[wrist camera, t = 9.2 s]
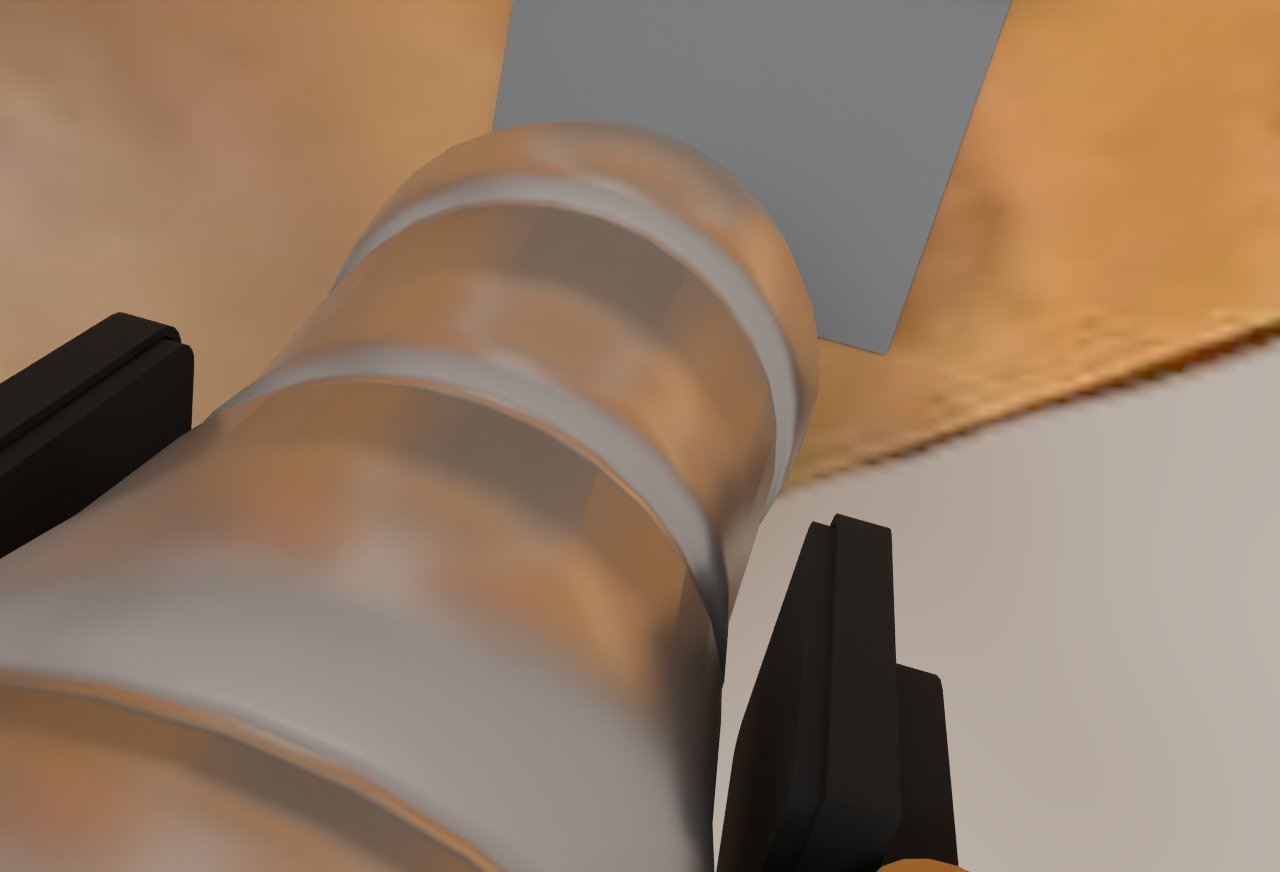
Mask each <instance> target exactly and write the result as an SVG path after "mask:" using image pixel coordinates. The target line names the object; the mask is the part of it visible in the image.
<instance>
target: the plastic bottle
mask: <svg viewBox="0 0 1280 872" xmlns="http://www.w3.org/2000/svg"><path fill="white" fill-rule="evenodd" d="M819 356H820V350H819V343H818V337H817V331H816V324H815V318H814V312H813V307H812V304H811V301H810V299H809V296H808V294H807V291H806V289H805V286H804V283H803V281H802V278H801V276H800V273H799V271H798V268H797V266H796V263H795V261H794V258H793V256H792V253H791V251H790V249H789V246H788V244H787V242H786V240H785V238H784V236H783V235H782V233H781V232H780V230H779V229H778V227H777V226H776V224H775V223H774V221H773V220H772V218H771V216H770V215H769V213H768V212H767V210H766V209H765V207H764V206H763V204H762V203H761V202H760V201H759V200H758V199H757V198H756V197H755V196H754V195H753V194H752V193H751V192H750V191H749V190H748V189H747V188H746V187H745V186H744V185H743V184H742V183H741V182H740V181H739V180H738V179H737V178H736V177H735V176H734V175H733V174H732V173H731V172H730V171H728V170H727V169H725V168H724V167H722V166H721V165H720V164H718V163H717V162H715V161H714V160H712V159H711V158H709V157H708V156H707V155H705V154H704V153H702V152H701V151H699V150H698V149H696V148H695V147H692V146H690V145H688V144H686V143H683V142H681V141H679V140H677V139H674V138H672V137H670V136H668V135H665V134H663V133H661V132H659V131H656V130H653V129H649V128H645V127H640V126H636V125H632V124H627V123H623V122H619V121H614V120H603V119H574V118H566V119H560V120H554V121H548V122H542V123H536V124H530V125H524V126H518V127H513V128H507V129H501V130H495V131H492V132H490V133H487V134H485V135H482V136H480V137H477V138H474V139H472V140H469V141H467V142H464V143H462V144H459V145H456V146H454V147H451V148H450V149H448V150H447V151H445V152H444V153H442V154H441V155H439V156H438V157H436V158H435V159H433V160H432V161H430V162H429V163H427V164H426V165H424V166H423V167H421V168H420V169H418V170H417V171H415V172H414V173H413V174H412V175H411V176H410V177H409V178H408V179H407V180H406V181H405V182H404V183H403V184H402V185H401V186H400V188H399V189H398V190H397V191H396V192H395V193H394V194H393V195H392V196H391V197H390V198H389V199H388V200H387V201H386V202H385V203H384V205H383V206H382V207H381V209H380V210H379V211H378V213H377V214H376V216H375V217H374V218H373V220H372V221H371V222H370V224H369V225H368V226H367V228H366V229H365V231H364V232H363V233H362V235H361V236H360V237H359V239H358V240H357V242H356V244H355V245H354V247H353V249H352V250H351V252H350V254H349V256H348V257H347V259H346V261H345V263H344V264H343V266H342V268H341V269H340V271H339V273H338V275H337V276H336V278H335V280H334V283H333V285H332V287H331V289H330V291H329V293H328V295H327V298H326V299H325V300H324V301H323V303H322V304H321V305H320V306H319V307H318V308H317V310H316V311H315V312H314V313H313V314H312V315H311V317H310V318H309V319H308V320H307V321H306V322H305V324H304V325H303V326H302V327H301V328H300V329H299V331H298V332H297V333H296V334H295V335H294V336H293V338H292V339H291V340H290V341H289V342H288V343H287V345H286V346H285V347H284V348H283V349H282V350H281V352H280V353H279V354H278V355H277V356H276V358H275V359H274V360H273V361H272V362H271V363H270V365H269V366H268V367H267V368H266V369H265V370H264V372H263V373H262V374H261V375H260V376H259V377H258V379H257V380H256V381H254V382H253V383H252V384H250V385H249V386H247V387H246V388H245V389H243V390H242V391H241V392H239V393H238V394H237V395H235V396H234V397H233V398H231V399H230V400H229V401H227V402H226V403H224V404H223V405H222V406H220V407H219V408H218V409H216V410H215V411H214V412H213V413H212V414H211V415H210V416H209V417H208V418H207V419H206V420H205V421H204V422H203V423H202V424H200V425H198V426H197V427H195V428H193V429H192V430H190V431H189V432H187V433H185V434H184V435H182V436H180V437H179V438H178V439H176V440H175V441H174V442H172V443H171V444H170V445H168V446H167V447H166V448H164V449H163V450H162V451H160V452H159V453H158V454H156V455H155V456H154V457H152V458H151V459H150V460H148V461H147V462H146V463H144V464H143V465H142V466H140V467H139V468H138V469H136V470H135V471H134V472H132V473H131V474H130V475H128V476H127V477H126V478H124V479H123V480H122V481H120V482H119V483H118V484H116V485H115V486H114V487H112V488H111V489H110V490H108V491H107V492H106V493H105V494H103V495H102V496H101V497H99V498H98V499H97V500H95V501H94V502H93V503H91V504H90V505H89V506H87V507H86V508H85V509H83V510H82V511H81V512H79V513H78V514H76V515H75V516H73V517H71V518H70V519H68V520H66V521H64V522H63V523H61V524H59V525H58V526H56V527H54V528H52V529H51V530H49V531H47V532H46V533H44V534H42V535H40V536H39V537H37V538H35V539H34V540H32V541H30V542H28V543H27V544H25V545H23V546H22V547H20V548H18V549H16V550H15V551H13V552H11V553H9V554H8V555H6V556H4V557H3V558H1V559H0V872H714V851H713V829H712V828H713V827H712V822H713V810H714V798H715V786H716V774H717V761H718V750H719V737H720V726H721V698H722V687H723V683H724V677H725V663H726V650H727V637H728V623H729V620H730V617H731V614H732V611H733V608H734V604H735V601H736V598H737V594H738V591H739V588H740V585H741V582H742V579H743V576H744V572H745V569H746V566H747V563H748V560H749V556H750V553H751V550H752V547H753V544H754V540H755V537H756V534H757V531H758V528H759V525H760V524H761V522H762V520H763V519H764V517H765V516H766V514H767V513H768V511H769V509H770V508H771V506H772V504H773V502H774V500H775V499H776V497H777V495H778V493H779V492H780V490H781V488H782V486H783V485H784V483H785V481H786V479H787V478H788V476H789V474H790V471H791V469H792V466H793V464H794V461H795V459H796V456H797V454H798V451H799V449H800V446H801V444H802V441H803V439H804V436H805V433H806V430H807V427H808V423H809V420H810V417H811V413H812V410H813V406H814V403H815V400H816V396H817V388H818V372H819Z"/></svg>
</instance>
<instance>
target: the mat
mask: <svg viewBox="0 0 1280 872" xmlns="http://www.w3.org/2000/svg"><path fill="white" fill-rule="evenodd" d="M1011 1H1012V0H513V5H512V11H511V17H510V23H509V30H508V36H507V42H506V48H505V54H504V61H503V67H502V73H501V79H500V86H499V92H498V98H497V104H496V111H495V117H494V123H493V129H492V131H495V130H501V129H507V128H513V127H518V126H524V125H530V124H536V123H542V122H548V121H554V120H560V119H566V118H574V119H603V120H614V121H619V122H623V123H627V124H632V125H636V126H640V127H645V128H649V129H653V130H656V131H659V132H661V133H663V134H665V135H668V136H670V137H672V138H674V139H677V140H679V141H681V142H683V143H686V144H688V145H690V146H692V147H695V148H696V149H698V150H699V151H701V152H702V153H704V154H705V155H707V156H708V157H709V158H711V159H712V160H714V161H715V162H717V163H718V164H720V165H721V166H722V167H724V168H725V169H727V170H728V171H730V172H731V173H732V174H733V175H734V176H735V177H736V178H737V179H738V180H739V181H740V182H741V183H742V184H743V185H744V186H745V187H746V188H747V189H748V190H749V191H750V192H751V193H752V194H753V195H754V196H755V197H756V198H757V199H758V200H759V201H760V202H761V203H762V204H763V206H764V207H765V209H766V210H767V212H768V213H769V215H770V216H771V218H772V220H773V221H774V223H775V224H776V226H777V227H778V229H779V230H780V232H781V233H782V235H783V236H784V238H785V240H786V242H787V244H788V246H789V249H790V251H791V253H792V256H793V258H794V261H795V263H796V266H797V268H798V271H799V273H800V276H801V278H802V281H803V283H804V286H805V289H806V291H807V294H808V296H809V299H810V301H811V304H812V307H813V312H814V318H815V324H816V331H817V337H820V338H824V339H828V340H831V341H835V342H839V343H842V344H846V345H850V346H853V347H857V348H861V349H864V350H868V351H872V352H875V353H879V354H883V355H886V354H887V352H888V349H889V346H890V343H891V340H892V337H893V335H894V332H895V329H896V326H897V323H898V320H899V318H900V315H901V312H902V309H903V306H904V303H905V301H906V298H907V295H908V292H909V289H910V286H911V284H912V281H913V278H914V275H915V272H916V269H917V267H918V264H919V261H920V258H921V255H922V252H923V250H924V247H925V244H926V241H927V238H928V235H929V233H930V230H931V227H932V224H933V221H934V219H935V216H936V213H937V210H938V207H939V204H940V202H941V199H942V196H943V193H944V190H945V187H946V185H947V182H948V179H949V176H950V173H951V170H952V168H953V165H954V162H955V159H956V156H957V153H958V151H959V148H960V145H961V142H962V139H963V136H964V134H965V131H966V128H967V125H968V122H969V119H970V117H971V114H972V111H973V108H974V105H975V102H976V100H977V97H978V94H979V91H980V88H981V85H982V83H983V80H984V77H985V74H986V71H987V68H988V66H989V63H990V60H991V57H992V54H993V52H994V49H995V46H996V43H997V40H998V37H999V35H1000V32H1001V29H1002V26H1003V23H1004V20H1005V18H1006V15H1007V12H1008V9H1009V6H1010V3H1011Z"/></svg>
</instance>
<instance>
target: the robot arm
mask: <svg viewBox="0 0 1280 872" xmlns="http://www.w3.org/2000/svg"><path fill="white" fill-rule="evenodd" d="M193 378H194V354H193V351H192V349H191V348H190V346H189V345H185V344H182V343H181V338H180V335H179V332H178V331H177V330H176V329H175V328H174V327H172V326H168V325H165V324H161V323H158V322H154V321H151V320H147V319H144V318H140V317H136V316H133V315H129V314H126V313H121V312H118V313H116V314H113V315H111V316H109V317H108V318H106V319H104V320H103V321H101V322H99V323H98V324H96V325H95V326H93V327H91V328H90V329H88V330H87V331H85V332H83V333H82V334H80V335H78V336H77V337H75V338H74V339H72V340H70V341H69V342H67V343H65V344H64V345H62V346H61V347H59V348H57V349H56V350H54V351H52V352H51V353H49V354H48V355H46V356H44V357H43V358H41V359H40V360H38V361H36V362H35V363H33V364H31V365H30V366H28V367H27V368H25V369H23V370H22V371H20V372H18V373H17V374H15V375H14V376H12V377H10V378H9V379H7V380H5V381H4V382H2V383H1V384H0V559H1V558H3V557H4V556H6V555H8V554H9V553H11V552H13V551H15V550H16V549H18V548H20V547H22V546H23V545H25V544H27V543H28V542H30V541H32V540H34V539H35V538H37V537H39V536H40V535H42V534H44V533H46V532H47V531H49V530H51V529H52V528H54V527H56V526H58V525H59V524H61V523H63V522H64V521H66V520H68V519H70V518H71V517H73V516H75V515H76V514H78V513H79V512H81V511H82V510H83V509H85V508H86V507H87V506H89V505H90V504H91V503H93V502H94V501H95V500H97V499H98V498H99V497H101V496H102V495H103V494H105V493H106V492H107V491H108V490H110V489H111V488H112V487H114V486H115V485H116V484H118V483H119V482H120V481H122V480H123V479H124V478H126V477H127V476H128V475H130V474H131V473H132V472H134V471H135V470H136V469H138V468H139V467H140V466H142V465H143V464H144V463H146V462H147V461H148V460H150V459H151V458H152V457H154V456H155V455H156V454H158V453H159V452H160V451H162V450H163V449H164V448H166V447H167V446H168V445H170V444H171V443H172V442H174V441H175V440H176V439H178V438H179V437H180V436H182V435H184V434H185V433H187V432H189V431H190V430H191V425H192V402H193ZM895 649H896V648H895V619H894V591H893V564H892V535H891V529H890V528H887V527H883V526H879V525H876V524H873V523H869V522H865V521H862V520H858V519H855V518H851V517H848V516H844V515H841V514H836V515H835V516H834V518H833V520H832V523H831V525H830V526H827V525H824V524H820V523H817V522H812V523H811V525H810V527H809V529H808V532H807V535H806V537H805V540H804V543H803V546H802V549H801V552H800V555H799V558H798V561H797V563H796V566H795V570H794V572H793V575H792V578H791V581H790V584H789V587H788V590H787V593H786V595H785V598H784V601H783V604H782V607H781V610H780V613H779V616H778V619H777V622H776V625H775V627H774V631H773V633H772V636H771V639H770V642H769V645H768V648H767V651H766V654H765V657H764V659H763V662H762V665H761V668H760V671H759V674H758V677H757V680H756V683H755V686H754V688H753V691H752V694H751V697H750V700H749V703H748V706H747V709H746V711H745V714H744V717H743V720H742V723H741V727H740V730H739V734H738V738H737V742H736V747H735V751H734V757H733V763H732V770H731V777H730V783H729V790H728V797H727V803H726V810H725V818H724V824H723V831H722V837H721V844H720V851H719V858H718V865H717V872H968V871H966V870H964V869H962V868H960V867H958V857H957V846H956V834H955V823H954V812H953V800H952V789H951V778H950V767H949V756H948V745H947V734H946V723H945V711H944V700H943V689H942V685H941V680H940V678H939V677H938V676H937V675H934V674H931V673H928V672H924V671H921V670H917V669H914V668H911V667H907V666H903V665H900V664H897V663H896V650H895Z"/></svg>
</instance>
